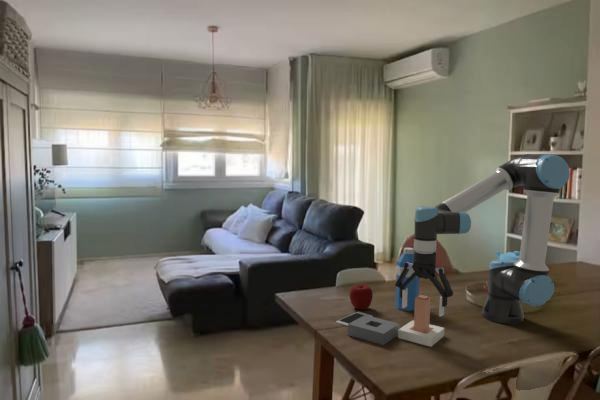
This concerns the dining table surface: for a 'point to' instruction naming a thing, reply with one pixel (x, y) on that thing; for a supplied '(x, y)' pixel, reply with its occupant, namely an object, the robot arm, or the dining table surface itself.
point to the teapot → (508, 255)
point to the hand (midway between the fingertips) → (422, 311)
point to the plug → (422, 314)
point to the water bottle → (412, 286)
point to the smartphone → (351, 318)
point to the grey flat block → (373, 329)
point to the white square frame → (421, 334)
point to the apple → (361, 296)
